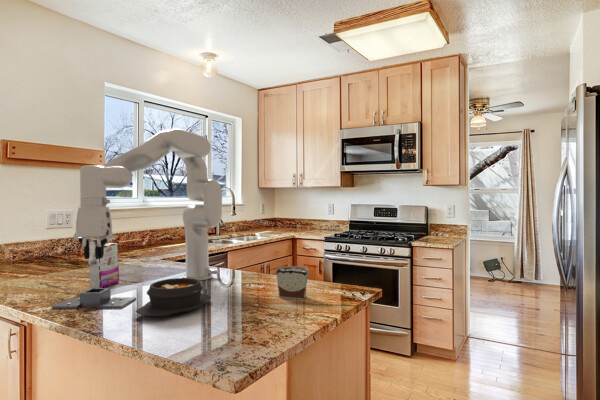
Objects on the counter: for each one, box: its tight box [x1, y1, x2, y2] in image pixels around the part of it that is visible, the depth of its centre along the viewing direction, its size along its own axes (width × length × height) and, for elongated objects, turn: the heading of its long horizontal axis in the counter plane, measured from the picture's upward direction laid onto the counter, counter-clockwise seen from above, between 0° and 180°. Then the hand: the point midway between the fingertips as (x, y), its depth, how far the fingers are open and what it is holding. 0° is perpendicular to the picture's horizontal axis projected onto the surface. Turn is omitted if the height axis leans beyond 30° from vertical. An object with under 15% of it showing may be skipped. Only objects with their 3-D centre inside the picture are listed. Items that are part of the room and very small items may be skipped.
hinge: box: [51, 287, 137, 310], centre depth 126 cm, size 23×10×4 cm, turn 89°
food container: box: [274, 265, 310, 300], centre depth 134 cm, size 12×6×10 cm, turn 71°
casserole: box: [135, 277, 212, 318], centre depth 119 cm, size 25×19×8 cm
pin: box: [88, 238, 99, 266], centre depth 125 cm, size 3×3×8 cm
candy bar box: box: [89, 242, 120, 289], centre depth 152 cm, size 11×5×16 cm, turn 168°
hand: (93, 257), depth 126 cm, fingers closed on pin, 3 cm apart
